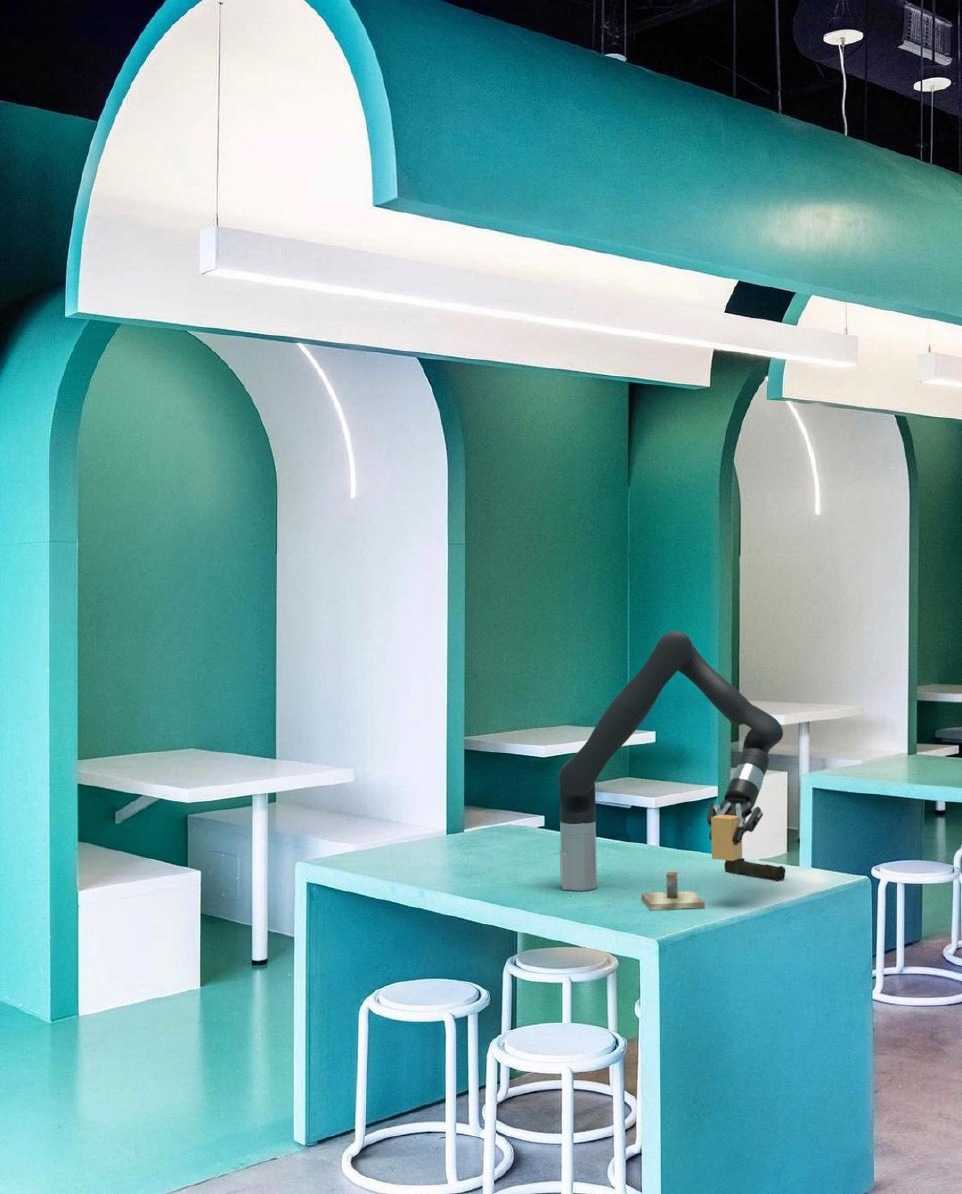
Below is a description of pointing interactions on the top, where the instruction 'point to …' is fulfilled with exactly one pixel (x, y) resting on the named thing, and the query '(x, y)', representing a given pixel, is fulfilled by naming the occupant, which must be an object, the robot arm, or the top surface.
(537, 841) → the top surface
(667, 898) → the post board
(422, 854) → the top surface
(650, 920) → the top surface
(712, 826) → the tall orange pillar
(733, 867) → the hand tool
